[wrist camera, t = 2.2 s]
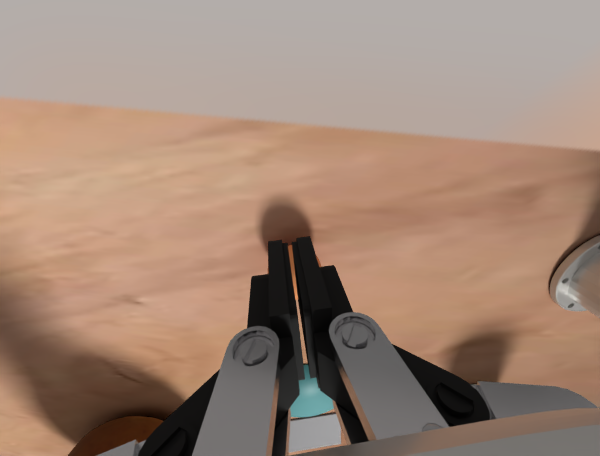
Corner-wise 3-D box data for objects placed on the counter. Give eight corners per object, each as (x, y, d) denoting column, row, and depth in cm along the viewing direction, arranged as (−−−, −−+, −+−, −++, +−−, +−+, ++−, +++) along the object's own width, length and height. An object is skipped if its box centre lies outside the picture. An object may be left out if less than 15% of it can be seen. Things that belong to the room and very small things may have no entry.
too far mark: (340, 412, 44) (340, 413, 44) (340, 442, 48) (340, 443, 48) (281, 421, 43) (281, 422, 43) (287, 451, 48) (287, 452, 48)
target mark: (349, 358, 38) (349, 359, 37) (348, 409, 44) (349, 410, 43) (259, 371, 37) (259, 372, 37) (271, 421, 43) (271, 422, 43)
